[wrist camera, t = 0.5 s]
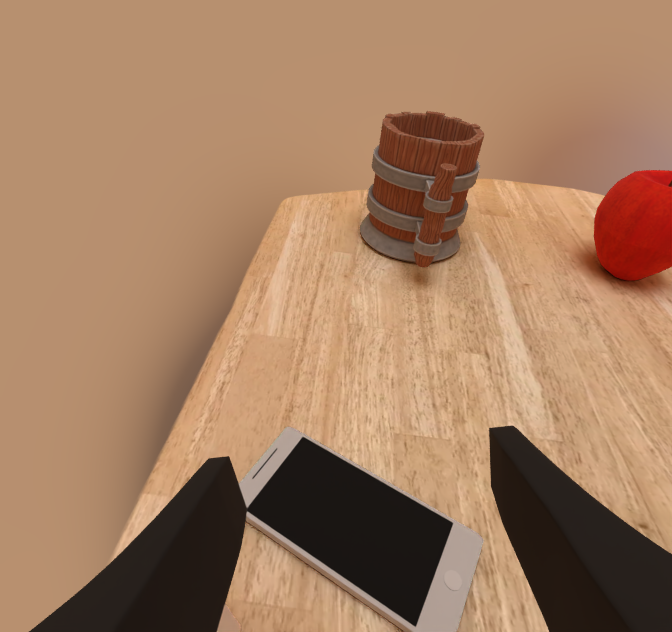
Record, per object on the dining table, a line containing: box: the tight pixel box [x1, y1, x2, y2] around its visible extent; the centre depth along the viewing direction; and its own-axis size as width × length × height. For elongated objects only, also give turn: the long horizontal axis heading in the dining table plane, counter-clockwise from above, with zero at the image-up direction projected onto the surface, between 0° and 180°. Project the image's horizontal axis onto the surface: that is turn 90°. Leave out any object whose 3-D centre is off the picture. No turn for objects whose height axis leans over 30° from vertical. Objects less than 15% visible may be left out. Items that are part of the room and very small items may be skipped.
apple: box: [594, 170, 672, 281], centre depth 52 cm, size 12×12×13 cm
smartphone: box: [239, 427, 483, 632], centre depth 27 cm, size 7×16×1 cm, turn 60°
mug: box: [360, 111, 484, 267], centre depth 52 cm, size 14×19×15 cm
